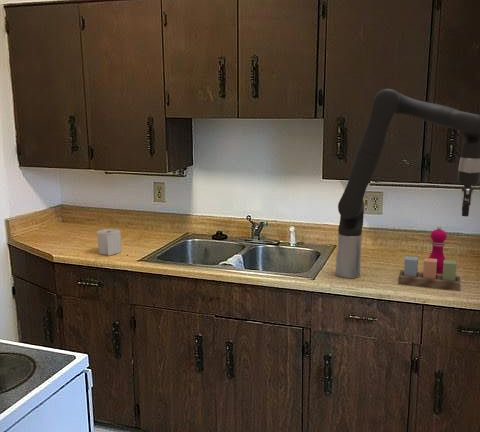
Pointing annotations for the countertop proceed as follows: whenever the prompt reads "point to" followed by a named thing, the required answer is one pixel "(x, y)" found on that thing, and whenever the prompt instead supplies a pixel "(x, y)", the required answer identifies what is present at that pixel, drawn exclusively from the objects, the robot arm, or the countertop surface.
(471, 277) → the countertop surface
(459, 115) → the robot arm
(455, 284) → the walnut board
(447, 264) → the olive block
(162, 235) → the countertop surface
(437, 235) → the pepper mill
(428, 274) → the terracotta block
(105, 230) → the light grey block
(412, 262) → the slate block
